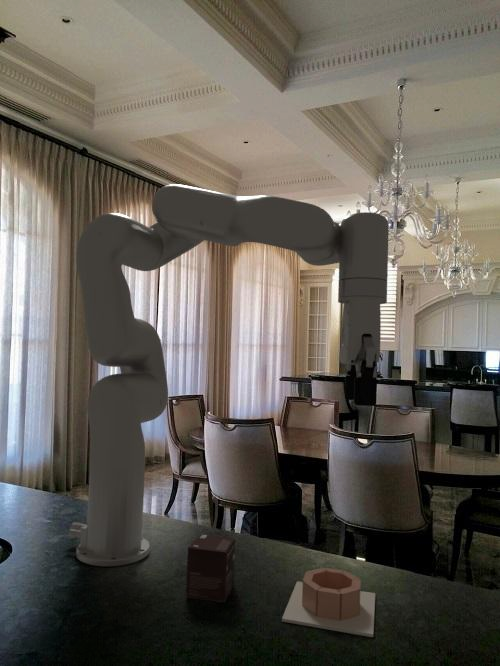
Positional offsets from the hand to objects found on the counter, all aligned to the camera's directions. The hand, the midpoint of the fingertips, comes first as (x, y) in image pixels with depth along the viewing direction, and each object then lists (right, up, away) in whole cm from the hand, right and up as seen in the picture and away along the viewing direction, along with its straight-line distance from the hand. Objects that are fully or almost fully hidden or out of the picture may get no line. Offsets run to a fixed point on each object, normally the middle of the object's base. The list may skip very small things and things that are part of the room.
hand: (359, 402), depth 79 cm
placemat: (-5, -29, -6) cm, 30 cm away
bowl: (-5, -29, -6) cm, 30 cm away
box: (-23, -28, -3) cm, 37 cm away
